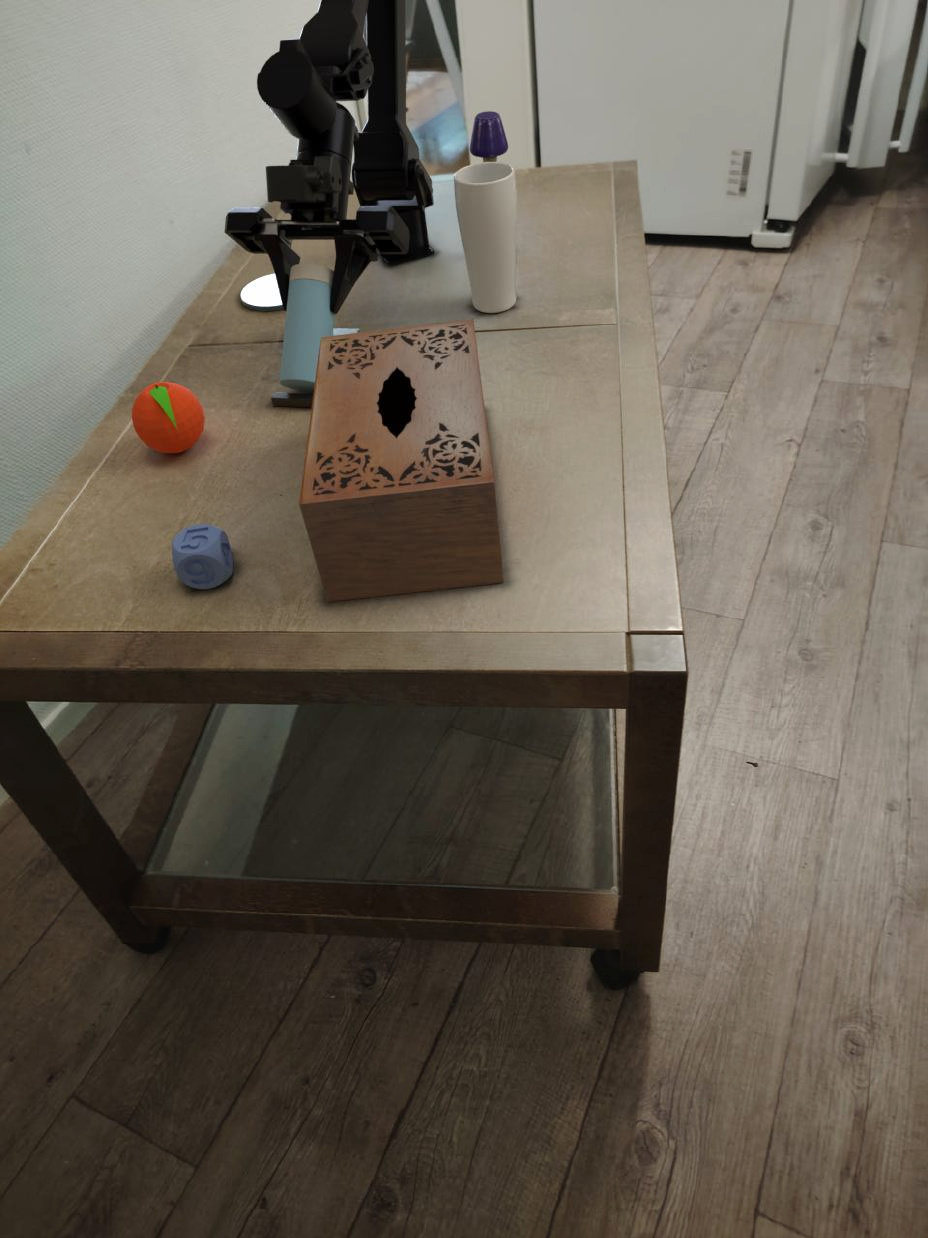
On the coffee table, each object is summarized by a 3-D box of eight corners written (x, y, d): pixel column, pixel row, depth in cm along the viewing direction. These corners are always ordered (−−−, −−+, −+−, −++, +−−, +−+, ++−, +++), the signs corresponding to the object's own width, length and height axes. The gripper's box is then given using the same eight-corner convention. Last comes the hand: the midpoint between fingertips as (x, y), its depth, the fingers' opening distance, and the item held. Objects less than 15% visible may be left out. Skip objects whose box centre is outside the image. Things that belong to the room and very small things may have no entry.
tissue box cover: (503, 582, 72) (494, 482, 65) (327, 602, 73) (299, 504, 66) (482, 411, 90) (473, 318, 83) (341, 427, 91) (320, 337, 84)
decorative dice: (234, 555, 78) (221, 519, 75) (231, 586, 75) (217, 550, 72) (189, 562, 78) (174, 527, 75) (184, 593, 75) (168, 557, 72)
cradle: (308, 355, 103) (301, 326, 100) (365, 357, 101) (359, 328, 98) (272, 405, 95) (264, 376, 93) (333, 408, 94) (326, 379, 91)
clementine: (225, 455, 89) (203, 393, 84) (158, 480, 88) (132, 418, 83) (202, 420, 95) (180, 359, 90) (138, 443, 93) (112, 382, 88)
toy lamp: (519, 248, 117) (512, 108, 106) (506, 263, 115) (496, 121, 103) (486, 245, 119) (475, 107, 107) (472, 260, 116) (459, 119, 105)
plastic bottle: (318, 353, 103) (295, 249, 95) (359, 354, 102) (339, 249, 93) (279, 408, 95) (249, 299, 86) (323, 410, 94) (297, 300, 85)
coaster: (306, 269, 120) (305, 264, 119) (327, 297, 113) (326, 292, 112) (234, 288, 118) (232, 283, 117) (250, 318, 111) (249, 313, 110)
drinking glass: (458, 315, 106) (443, 182, 95) (478, 289, 110) (466, 160, 100) (511, 320, 104) (502, 185, 93) (530, 293, 108) (524, 161, 97)
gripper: (204, 124, 88) (189, 283, 88) (382, 118, 84) (367, 285, 84) (256, 178, 99) (243, 320, 99) (417, 175, 94) (403, 323, 95)
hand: (310, 312), depth 94 cm, fingers closed on plastic bottle, 5 cm apart
